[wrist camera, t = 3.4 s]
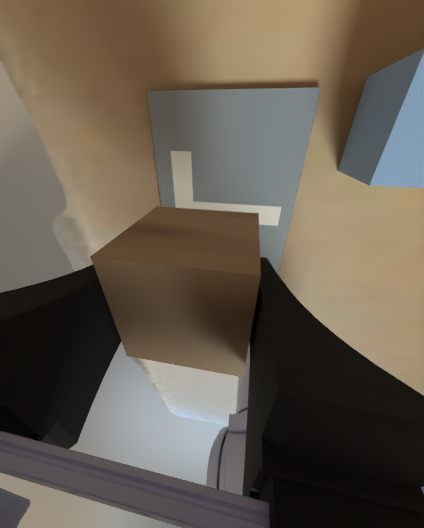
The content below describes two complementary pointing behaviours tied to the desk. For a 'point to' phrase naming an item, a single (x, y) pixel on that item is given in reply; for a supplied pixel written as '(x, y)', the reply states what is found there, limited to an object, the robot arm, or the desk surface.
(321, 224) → the desk surface
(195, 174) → the board
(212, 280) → the walnut block
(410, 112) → the blue cube
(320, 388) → the robot arm
